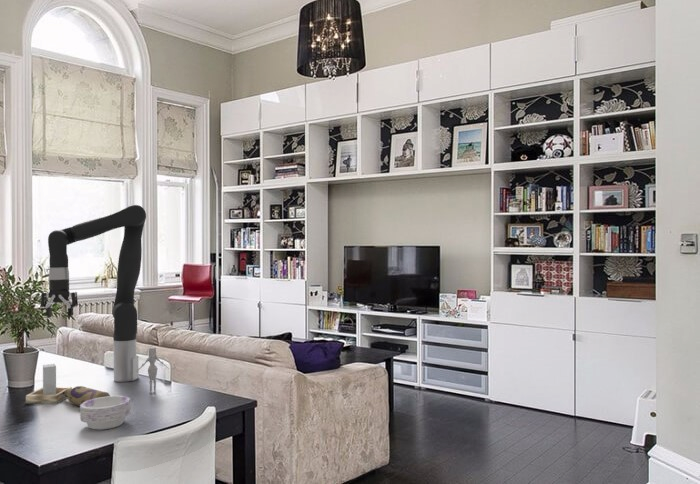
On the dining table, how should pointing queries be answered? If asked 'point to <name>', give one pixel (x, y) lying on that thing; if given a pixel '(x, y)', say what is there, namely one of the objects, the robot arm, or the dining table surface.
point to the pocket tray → (46, 396)
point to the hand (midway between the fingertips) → (59, 317)
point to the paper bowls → (105, 411)
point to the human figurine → (152, 367)
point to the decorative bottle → (83, 394)
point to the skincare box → (49, 379)
